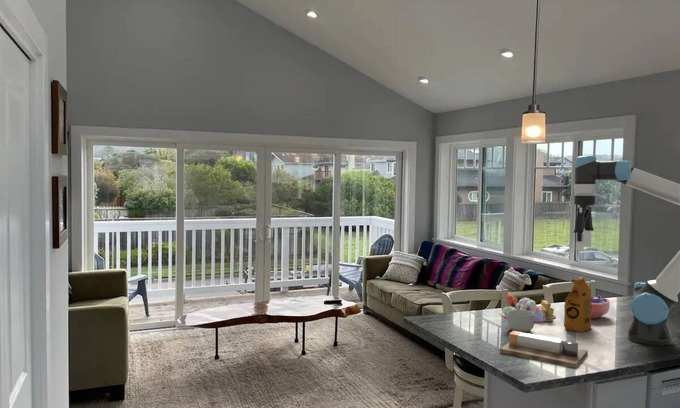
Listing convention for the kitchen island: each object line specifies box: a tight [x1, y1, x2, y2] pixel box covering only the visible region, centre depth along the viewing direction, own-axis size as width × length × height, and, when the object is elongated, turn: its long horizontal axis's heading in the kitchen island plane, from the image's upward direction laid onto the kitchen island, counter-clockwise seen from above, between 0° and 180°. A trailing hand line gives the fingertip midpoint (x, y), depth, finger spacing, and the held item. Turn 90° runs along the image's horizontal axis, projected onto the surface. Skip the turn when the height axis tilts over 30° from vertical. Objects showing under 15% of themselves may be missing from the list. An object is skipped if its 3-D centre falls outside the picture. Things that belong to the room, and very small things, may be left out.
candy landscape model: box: [499, 294, 557, 323], centre depth 242 cm, size 25×24×9 cm
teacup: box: [507, 309, 535, 333], centre depth 218 cm, size 14×11×8 cm
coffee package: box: [563, 276, 592, 333], centre depth 221 cm, size 10×12×22 cm
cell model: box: [591, 295, 611, 319], centre depth 241 cm, size 17×20×11 cm
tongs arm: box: [508, 331, 561, 354], centre depth 188 cm, size 18×2×4 cm, turn 53°
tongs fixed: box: [511, 330, 579, 357], centre depth 188 cm, size 24×5×4 cm, turn 53°
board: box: [499, 342, 589, 369], centre depth 188 cm, size 26×18×2 cm
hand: (583, 248), depth 204 cm, fingers open, 13 cm apart
